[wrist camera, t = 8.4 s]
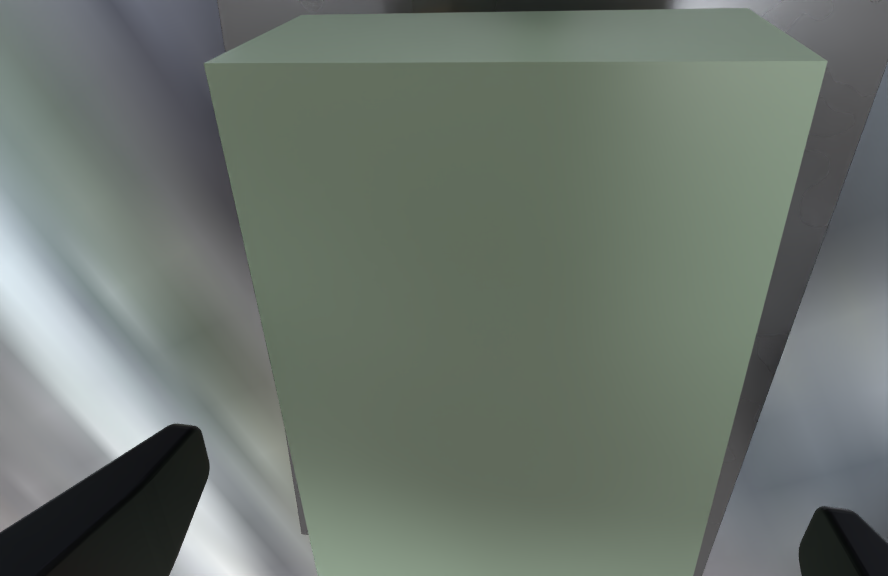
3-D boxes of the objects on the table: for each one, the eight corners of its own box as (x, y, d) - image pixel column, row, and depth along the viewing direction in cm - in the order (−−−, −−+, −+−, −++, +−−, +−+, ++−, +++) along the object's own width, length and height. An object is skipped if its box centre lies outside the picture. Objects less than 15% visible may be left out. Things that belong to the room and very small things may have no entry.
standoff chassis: (989, -318, 9) (1344, -488, 5) (690, 561, 20) (724, 743, 16) (197, -301, 11) (-37, -421, 7) (312, 508, 21) (250, 661, 17)
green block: (747, 7, 8) (827, 61, 6) (637, 583, 15) (653, 729, 12) (302, 14, 9) (203, 64, 7) (378, 553, 16) (341, 683, 13)
